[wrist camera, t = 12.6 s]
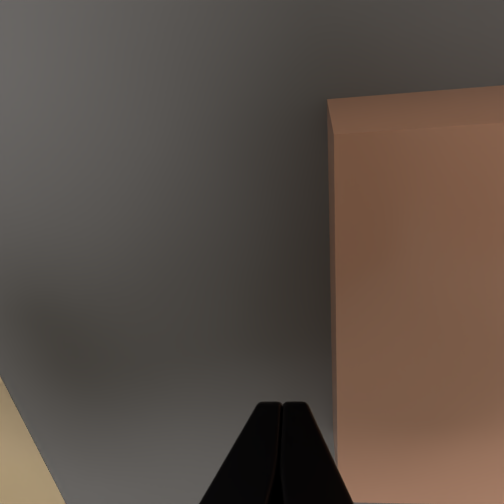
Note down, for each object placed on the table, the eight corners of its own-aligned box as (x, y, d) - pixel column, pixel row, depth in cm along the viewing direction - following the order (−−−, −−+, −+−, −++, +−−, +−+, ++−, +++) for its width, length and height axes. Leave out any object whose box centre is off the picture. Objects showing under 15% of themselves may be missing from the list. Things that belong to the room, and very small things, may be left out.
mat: (487, 527, 16) (493, 546, 15) (87, 516, 18) (81, 533, 17) (836, -743, 5) (903, -832, 4) (-373, -431, 6) (-431, -464, 6)
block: (333, 431, 13) (567, 432, 12) (338, 502, 11) (609, 508, 11) (326, 99, 9) (698, 69, 8) (333, 134, 7) (810, 100, 6)
